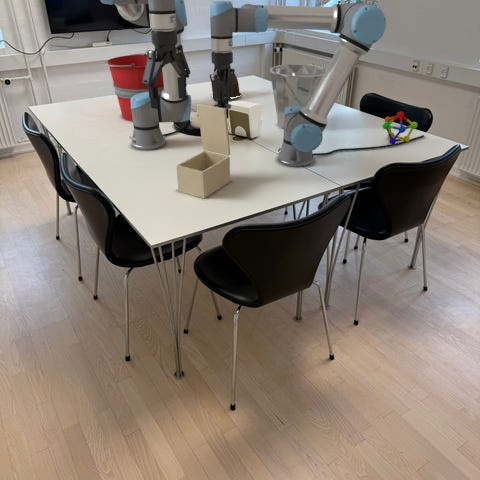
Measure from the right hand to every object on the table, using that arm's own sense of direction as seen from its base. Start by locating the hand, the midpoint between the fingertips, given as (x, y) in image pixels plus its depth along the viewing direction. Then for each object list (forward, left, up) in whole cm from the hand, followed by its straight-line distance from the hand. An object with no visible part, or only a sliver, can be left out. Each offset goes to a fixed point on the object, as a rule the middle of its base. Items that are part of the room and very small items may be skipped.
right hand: (223, 118), depth 166 cm
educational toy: (-88, +16, -23) cm, 92 cm away
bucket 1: (-9, -94, -23) cm, 97 cm away
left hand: (+27, +10, +12) cm, 31 cm away
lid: (+6, +3, -3) cm, 7 cm away
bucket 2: (-66, -32, -23) cm, 77 cm away
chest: (+12, +5, -23) cm, 26 cm away
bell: (-68, -100, -23) cm, 123 cm away
